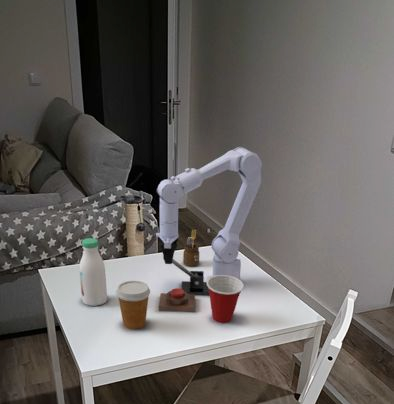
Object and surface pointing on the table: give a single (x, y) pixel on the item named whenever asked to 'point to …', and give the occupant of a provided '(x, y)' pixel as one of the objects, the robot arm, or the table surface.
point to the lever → (183, 268)
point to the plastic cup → (223, 296)
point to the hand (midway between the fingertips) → (168, 261)
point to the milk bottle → (92, 274)
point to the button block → (177, 303)
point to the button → (177, 293)
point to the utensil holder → (191, 253)
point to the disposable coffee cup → (133, 303)
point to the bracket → (196, 284)
